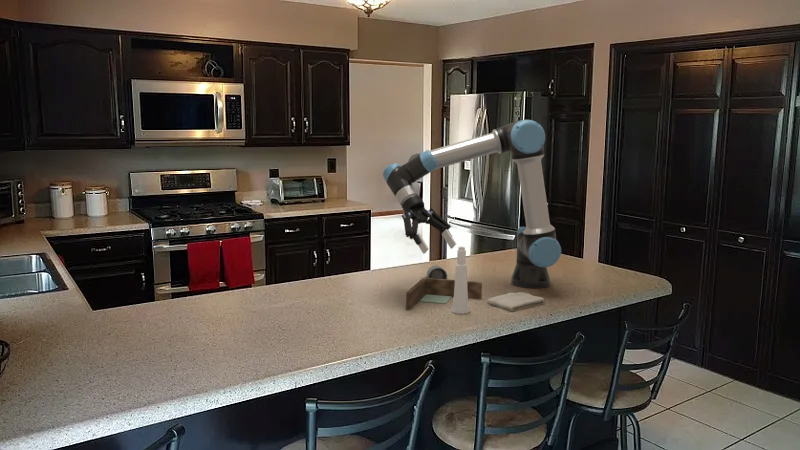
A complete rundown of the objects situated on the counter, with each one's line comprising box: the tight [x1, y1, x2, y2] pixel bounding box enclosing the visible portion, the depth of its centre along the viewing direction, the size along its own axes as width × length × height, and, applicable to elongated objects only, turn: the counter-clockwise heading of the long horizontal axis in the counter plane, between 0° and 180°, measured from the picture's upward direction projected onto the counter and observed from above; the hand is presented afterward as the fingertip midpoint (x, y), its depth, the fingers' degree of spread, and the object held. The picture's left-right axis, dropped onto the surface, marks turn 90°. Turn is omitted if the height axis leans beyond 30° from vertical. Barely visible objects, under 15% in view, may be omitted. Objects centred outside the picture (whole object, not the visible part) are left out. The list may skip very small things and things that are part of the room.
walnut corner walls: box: [405, 277, 483, 311], centre depth 214 cm, size 22×22×6 cm
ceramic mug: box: [423, 265, 448, 279], centre depth 241 cm, size 11×8×8 cm
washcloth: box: [486, 291, 546, 313], centre depth 215 cm, size 12×18×3 cm, turn 128°
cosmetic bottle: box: [451, 246, 470, 315], centre depth 204 cm, size 6×6×22 cm
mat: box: [418, 294, 453, 305], centre depth 220 cm, size 10×10×1 cm
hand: (440, 248), depth 209 cm, fingers open, 13 cm apart
